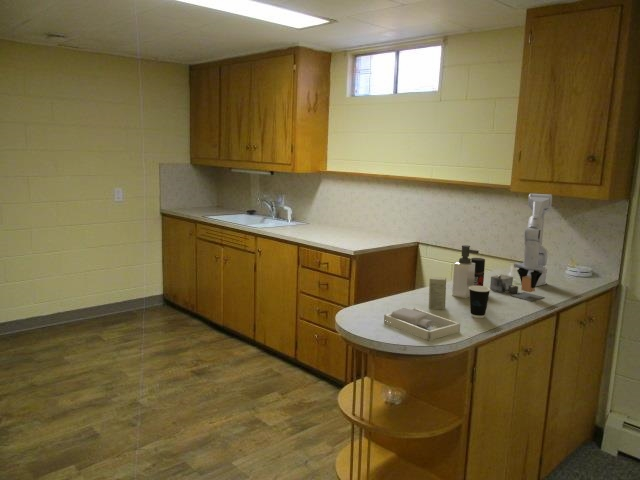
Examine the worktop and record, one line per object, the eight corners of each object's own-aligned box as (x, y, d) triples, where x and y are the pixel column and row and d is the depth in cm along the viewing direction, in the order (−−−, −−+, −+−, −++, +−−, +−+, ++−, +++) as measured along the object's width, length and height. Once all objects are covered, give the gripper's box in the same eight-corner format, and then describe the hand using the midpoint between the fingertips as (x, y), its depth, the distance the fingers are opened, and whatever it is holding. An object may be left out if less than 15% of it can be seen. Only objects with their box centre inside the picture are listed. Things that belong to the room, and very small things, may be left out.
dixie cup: (471, 319, 195) (473, 291, 193) (463, 313, 202) (465, 285, 201) (491, 319, 195) (494, 290, 193) (483, 312, 203) (485, 285, 201)
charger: (426, 335, 177) (390, 325, 187) (440, 328, 184) (404, 319, 194) (427, 322, 177) (391, 312, 187) (441, 316, 183) (405, 307, 193)
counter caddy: (414, 315, 198) (414, 307, 198) (459, 331, 181) (460, 323, 180) (383, 322, 189) (384, 314, 188) (429, 340, 172) (429, 332, 171)
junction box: (500, 286, 244) (501, 272, 243) (513, 289, 238) (514, 275, 237) (488, 289, 239) (489, 275, 238) (501, 292, 233) (502, 278, 232)
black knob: (511, 291, 236) (512, 284, 236) (519, 293, 233) (520, 286, 233) (506, 292, 234) (506, 285, 234) (514, 294, 231) (514, 287, 230)
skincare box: (445, 307, 210) (447, 277, 208) (444, 310, 206) (446, 280, 204) (429, 305, 212) (430, 276, 210) (427, 308, 208) (429, 278, 206)
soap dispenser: (470, 299, 221) (474, 248, 218) (452, 295, 227) (455, 245, 224) (478, 296, 226) (481, 246, 222) (459, 292, 232) (462, 244, 228)
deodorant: (481, 290, 237) (483, 257, 234) (483, 293, 231) (486, 260, 228) (467, 289, 237) (470, 257, 235) (470, 293, 231) (472, 260, 229)
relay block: (526, 288, 229) (527, 275, 228) (534, 290, 226) (536, 277, 225) (521, 290, 227) (522, 276, 226) (529, 292, 224) (530, 278, 223)
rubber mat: (523, 292, 234) (523, 291, 234) (544, 298, 226) (544, 297, 226) (510, 296, 228) (510, 295, 228) (531, 301, 220) (531, 300, 220)
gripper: (510, 253, 227) (508, 284, 229) (541, 259, 216) (538, 291, 218) (520, 252, 231) (517, 282, 234) (550, 258, 220) (547, 289, 222)
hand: (528, 286), depth 226 cm, fingers closed on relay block, 4 cm apart
